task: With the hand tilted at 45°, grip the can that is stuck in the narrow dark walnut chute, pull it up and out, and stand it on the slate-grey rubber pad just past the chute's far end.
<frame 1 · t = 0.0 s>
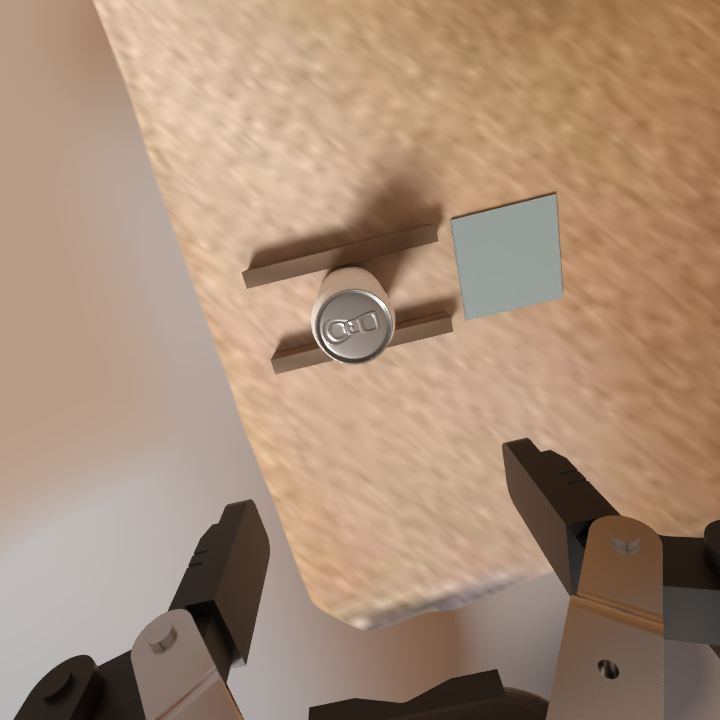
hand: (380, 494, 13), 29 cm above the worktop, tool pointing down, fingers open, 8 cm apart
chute: (350, 298, 40), on the worktop
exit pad: (507, 259, 39), on the worktop
can: (350, 298, 40), on the worktop
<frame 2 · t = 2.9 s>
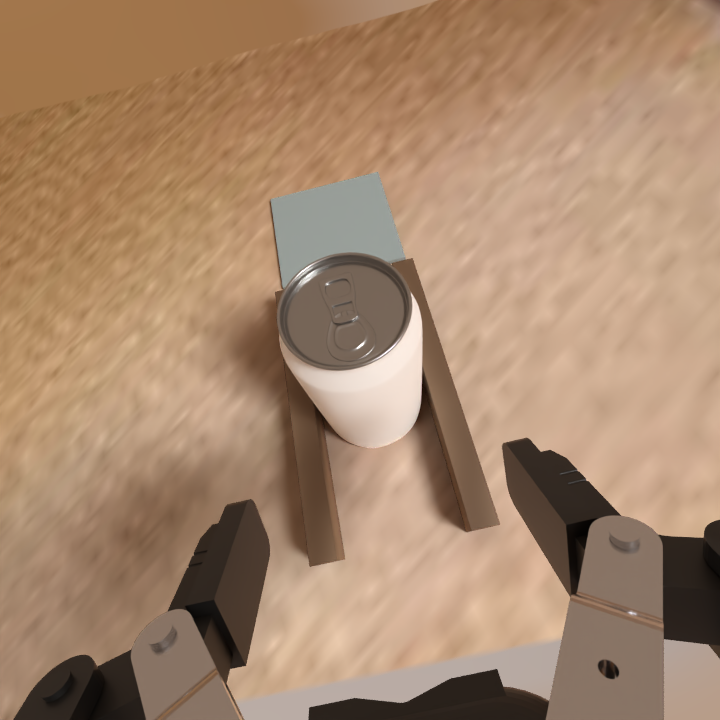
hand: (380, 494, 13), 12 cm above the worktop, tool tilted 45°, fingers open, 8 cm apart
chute: (373, 401, 27), on the worktop
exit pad: (333, 228, 34), on the worktop
can: (373, 403, 27), on the worktop
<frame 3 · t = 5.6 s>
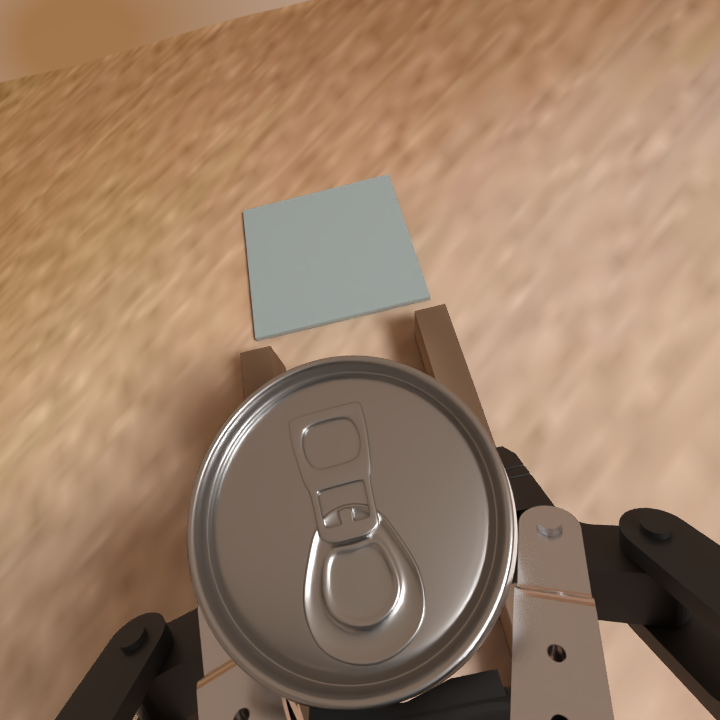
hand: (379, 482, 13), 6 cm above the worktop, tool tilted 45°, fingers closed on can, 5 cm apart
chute: (387, 528, 18), on the worktop
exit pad: (328, 252, 25), on the worktop
can: (387, 528, 18), on the worktop, touching gripper
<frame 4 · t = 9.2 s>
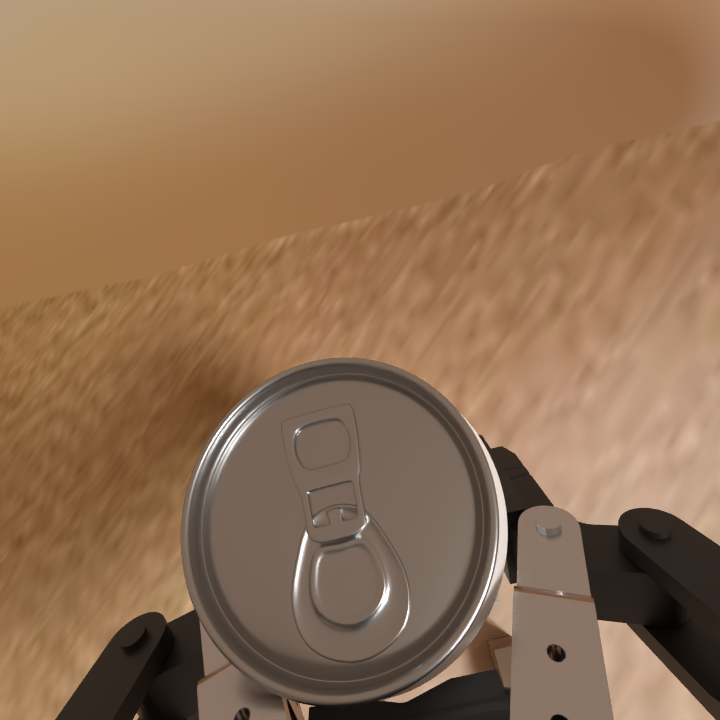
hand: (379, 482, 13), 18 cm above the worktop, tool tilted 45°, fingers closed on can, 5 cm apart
can: (391, 526, 18), point 12 cm above the worktop, touching gripper
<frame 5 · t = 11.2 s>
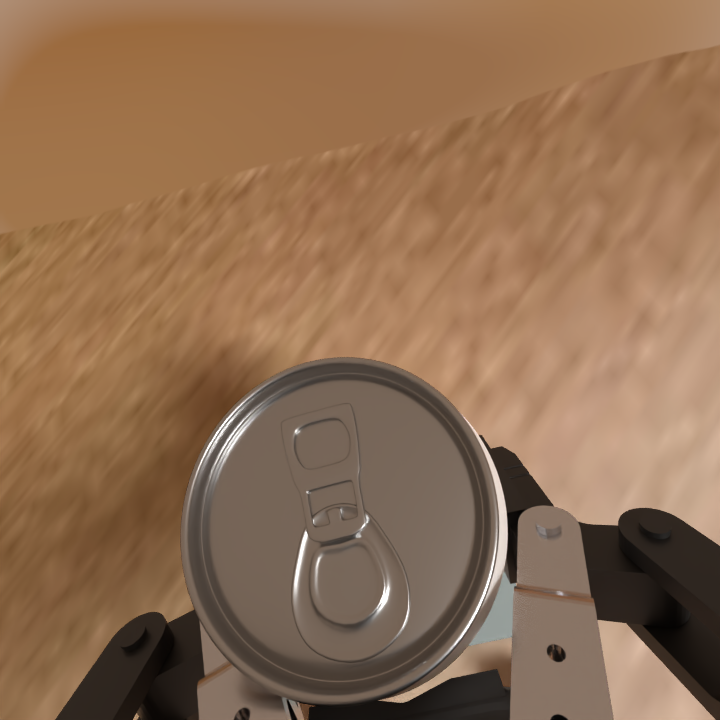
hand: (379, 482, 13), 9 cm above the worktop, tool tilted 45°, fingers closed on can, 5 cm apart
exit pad: (399, 538, 21), on the worktop
can: (391, 526, 18), point 3 cm above the worktop, touching gripper
when the fingers open (7 cm above the worktop, at t = 12.8 s): can drops 1 cm, resting on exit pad.
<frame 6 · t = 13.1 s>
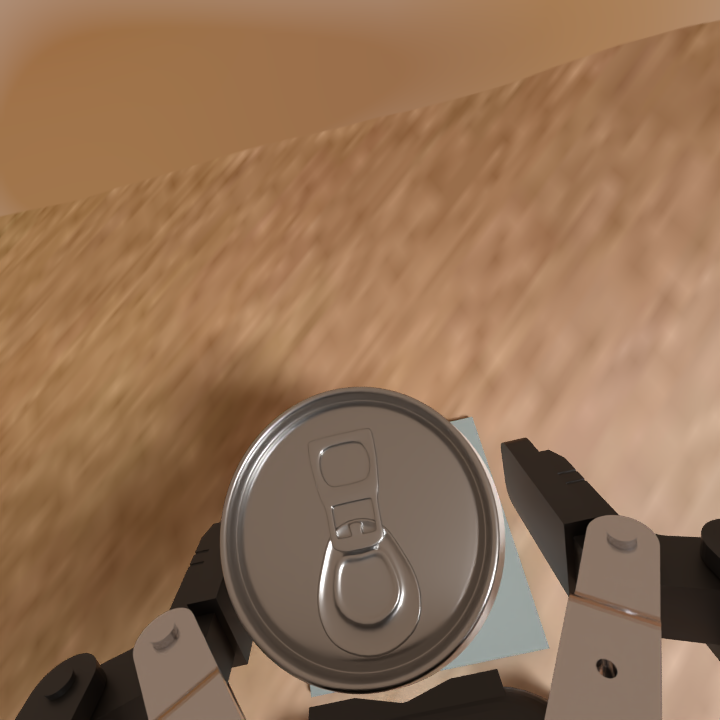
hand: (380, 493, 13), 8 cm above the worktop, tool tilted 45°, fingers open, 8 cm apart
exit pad: (400, 541, 19), on the worktop
can: (391, 530, 19), resting on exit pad
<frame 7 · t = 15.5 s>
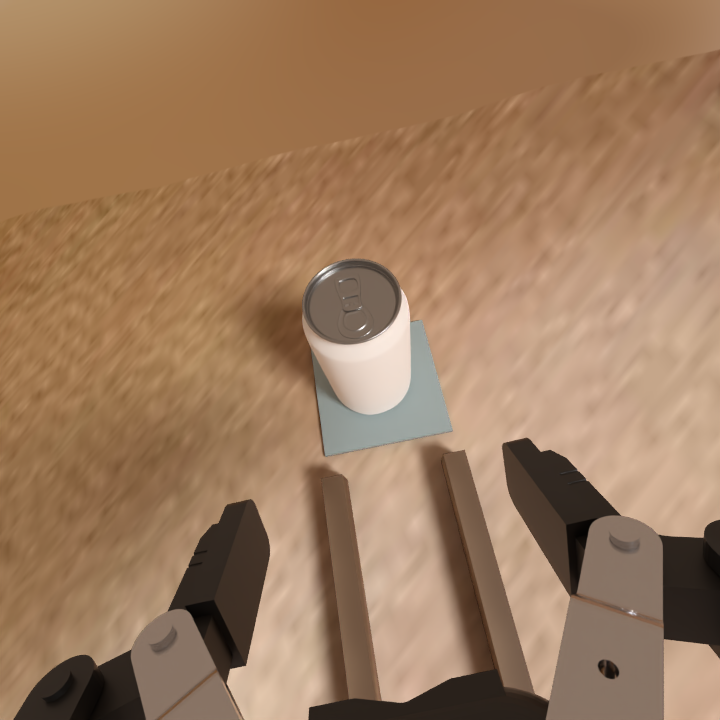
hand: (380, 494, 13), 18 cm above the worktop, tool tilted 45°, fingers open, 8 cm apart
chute: (422, 607, 26), on the worktop
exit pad: (376, 385, 33), on the worktop
can: (371, 379, 33), resting on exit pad
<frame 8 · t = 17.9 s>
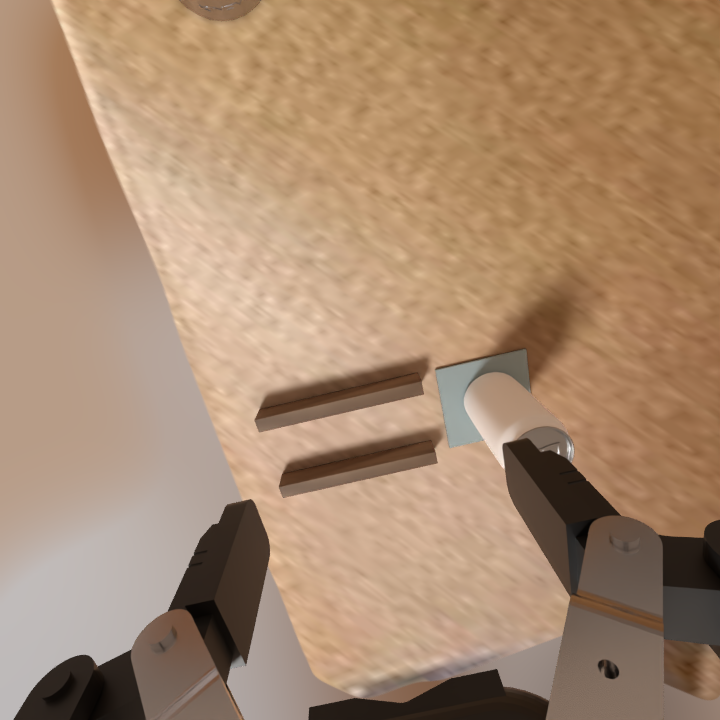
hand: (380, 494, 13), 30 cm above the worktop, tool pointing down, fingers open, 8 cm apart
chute: (348, 431, 46), on the worktop
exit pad: (485, 399, 45), on the worktop
can: (490, 396, 45), resting on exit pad
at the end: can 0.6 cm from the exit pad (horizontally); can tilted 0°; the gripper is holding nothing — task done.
